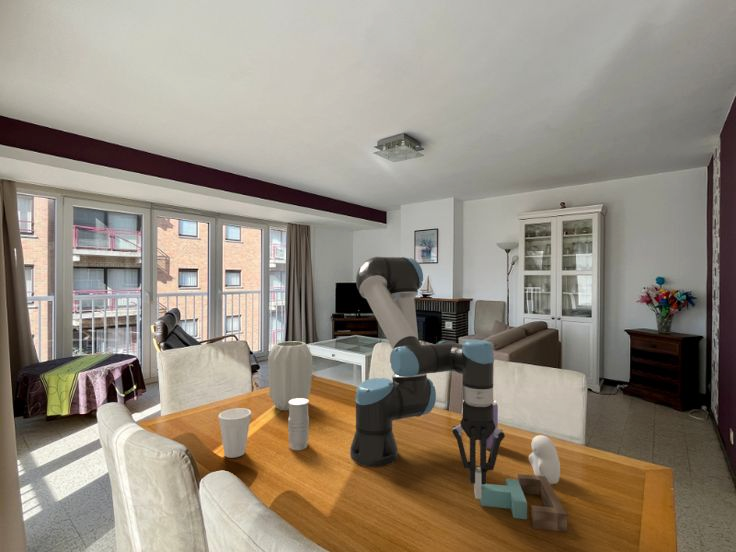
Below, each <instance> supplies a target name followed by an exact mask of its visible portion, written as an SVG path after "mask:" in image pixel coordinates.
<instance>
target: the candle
mask: <svg viewBox="0 0 736 552" xmlns="http://www.w3.org/2000/svg"><path fill="white" fill-rule="evenodd" d="M309 403H310V400H309V398H308V399H305V398H296V399H292V400H290V401H289V412H288V413H289V415H288V419H287V421H288V422H287V426H288V429H287V431H288V443H289V444H290V445H289V448H290V449H291V450H293V451H302V450H305V449H307V447H308V443H307V442H308V441H309V439H310V438H309V430H310V427H309V426H310V420H309V419H310V417H309Z"/></svg>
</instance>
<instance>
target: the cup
mask: <svg viewBox="0 0 736 552" xmlns="http://www.w3.org/2000/svg"><path fill="white" fill-rule="evenodd" d="M251 416H252V411H251V410H250V409H248V408H245V407H244V408H243V407H241V408H240V407H238V408H230V409H229V408H228V409H227V410H223V411H222V412H220V413H219V414H218V416H217V418H218V423H219V428H220V429H219V430H220V433H221V440H222V446H223V447H222V448H223V454H224V457H226V458H231V459H233V458H238V457H241V456H244V455H245V454H246V449H247V444H248V443H247V441H248V435H249V427H250V422H251V418H252V417H251Z"/></svg>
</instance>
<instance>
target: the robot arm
mask: <svg viewBox="0 0 736 552" xmlns="http://www.w3.org/2000/svg"><path fill="white" fill-rule="evenodd" d="M355 278H356V279H355V284H356V288H357V290H358V292H359V294H360V296H361V297H362V298H363V299H366V301H367V303H368V305H369V307H370V309H371V310H372V313H373V315H374V316H375V318H376V321H377V323H378V325H379V326H380V328H381V330H382V332H383V334H384V336H385V338H386V340H387V341H388V344H389V345H390V347H391V349H392V350H391V351H390V355H389V363H390V367H391V368H390V369H391V370H392V372H393V375H392V376H391V378H392V380H391V379H390V378H385V377H380V378H378V377H375V378H370V379H366V380H363V381H362V382H360V383H359V384H358V386H357V388H356V391H355V433H354V435H353V439H352V442H351V444H350V445H351V446H350V448H349V450H350V451H349V454H350V459H351V460H352V461H353V462H354V463H356V464H358V465H361V466H364V467H365V466H366V467H370V468H371V467H372V468H373V467H375V468H376V467H377V468H378V467H384V466H388V465H391V464H392V463H394V462H395V461H397V459H398V458H399V457H398V456H399V454H398V453H399V450H398V449H399V448H398V445H397V441H396V439H395V436H394V432H393V421H396V420H397V421H398V420H403V419H407V418H414V417H421V416H425V415H428V414H429V413H431V412H432V410H433V409H434V408H435V405H436V400H437V392H436V388H435V385H434V382H433V381H432V380H431V378H428V377H427V374H436V373H443V372H445V373H446V372H451V371H452V372H455V373H458V374H460V375H462V400H463V402H462V418H461V420H460V424H458V425H455V426H454V425H453V426H452V428H451V429H452V431H451V432H452V434H453V436H454V437H455V438H456V441H457V447H458V451H459V455H460V458H461V463H462V467H463V468H464V469H468V470H469V481H470V484H473V488H474V489H473V492H474V498H475V499H476V500H480V499H481V484H487V472H488V471H491V472H492V471H494V468H495V466H496V465H495V464H496V460H497V458H498V454H499V450H500V446H501V442H503V441H504V438H505V436H506V435H505V433H504V431H503V429H501V428H496V426H495V423H494V421H493V404H492V403H493V400H494V361H495V357H494V345H493V343H492V342H490V341H488V340H485V339H483V340H482V339H466V340H464V341H463V343H462V344H461V343H456V342H455V341H451V340H439V341H438V342H437V343H435V344H422V343H421V341H420V340H419V332H418V325H417V323H418V322H417V314H416V313H417V312H416V305H415V303H416V302H415V298H416V297H417V295H419V291H418V290H420V289H421V288H422V285H423V282H424V272H423V269H422V267H421V264H420V263H419V262H418V261H417V260H416V259H414V258H411V257H405V256H402V257H400V256H399V257H395V256H393V257H391V256H390V257H387V256H386V257H385V256H384V257H383V256H373V257H370V258H368V259H366V260H365V261H364V262H363V263H362V264H361V265H360V266H359V268H358V270H357V273H356V277H355ZM463 432H464V433H465V435H466V436H467V437H468V439H469V460H468V458H467V454H466V451H465V446H464V442H463V438H462V434H463ZM493 432H494V439H493V443H492V447H491V450H490V452H489V455H488V458H487V449H486V440H487V439H488V438H489V437H490V435H491V434H492V433H493ZM479 440H480V444H479V466H480V467H476V464H477V463H476V458H477V455H476V454H477V453H476V444H477V441H479ZM487 459H488V460H487Z"/></svg>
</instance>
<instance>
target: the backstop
mask: <svg viewBox="0 0 736 552" xmlns="http://www.w3.org/2000/svg"><path fill="white" fill-rule="evenodd" d="M517 480H518V481H519V484H520V486H521V489H522V491H523V494H524V495H526V494H527V495H537V496H539V497H540V498H541V501H542V503H543V504H544V505H543V506H540V505H531V525H532V527H533V529H537V530H545V531H555V532H565V533H567V532H568V513H567V512H566V510H565V508H564V506H563V504H562V502H561V500H560V499H559V498H558V496H557V494H556V493H555V491H554V489H553V487H552V484H550V483H549V482H548V480H547V478H546V477H545V476H535V474H534V475H533V474H532V475H531V474H522V473H517Z"/></svg>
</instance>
